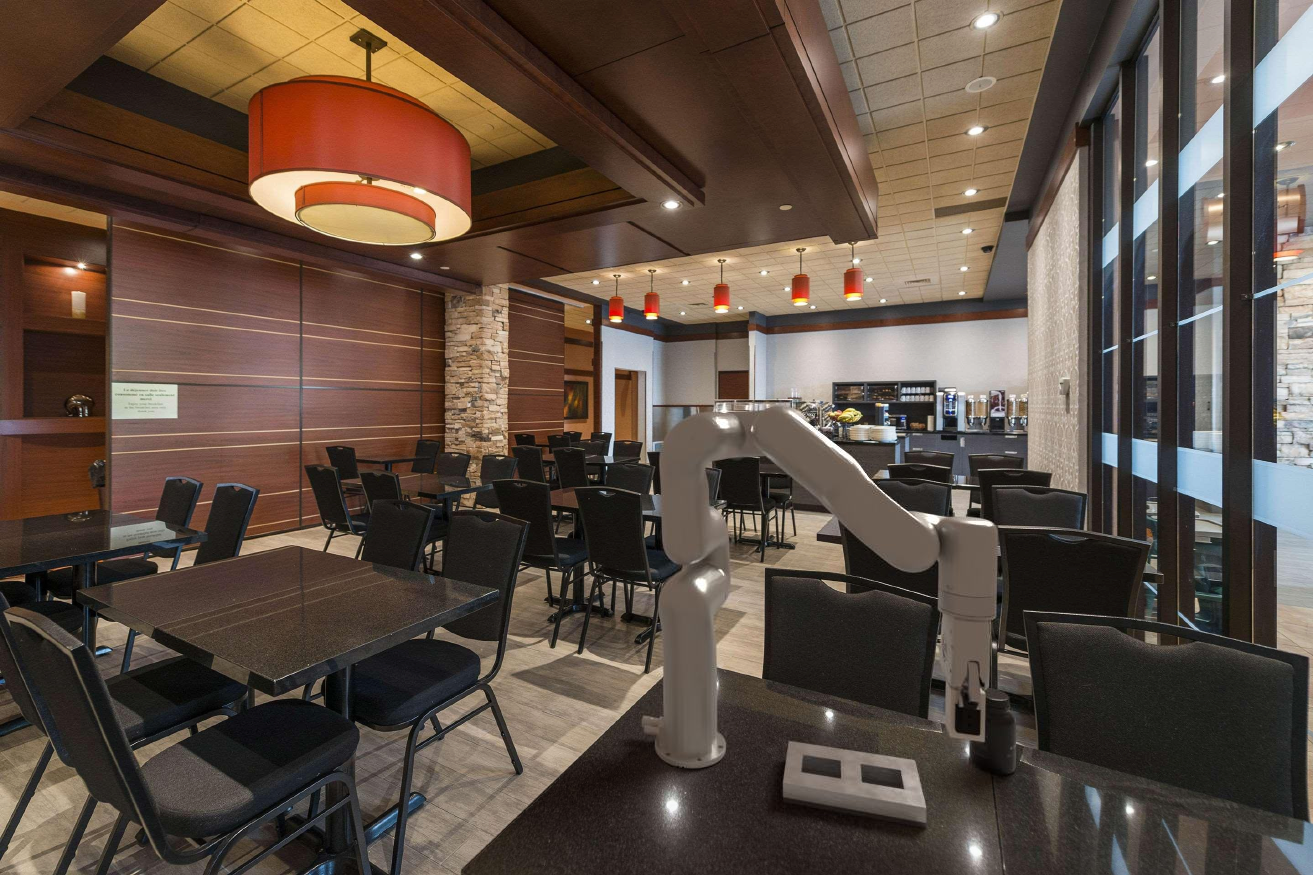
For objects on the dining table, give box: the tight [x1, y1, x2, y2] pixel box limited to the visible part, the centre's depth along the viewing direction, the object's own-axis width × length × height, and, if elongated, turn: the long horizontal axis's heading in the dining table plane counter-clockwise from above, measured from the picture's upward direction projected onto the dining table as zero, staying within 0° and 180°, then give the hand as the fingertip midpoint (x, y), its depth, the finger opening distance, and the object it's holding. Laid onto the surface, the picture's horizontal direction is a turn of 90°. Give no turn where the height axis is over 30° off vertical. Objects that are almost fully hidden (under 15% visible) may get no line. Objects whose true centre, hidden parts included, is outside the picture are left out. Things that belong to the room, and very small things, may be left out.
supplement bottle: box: [968, 687, 1017, 776], centre depth 97 cm, size 7×7×12 cm
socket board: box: [782, 740, 927, 829], centre depth 91 cm, size 20×12×3 cm, turn 73°
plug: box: [944, 678, 986, 742], centre depth 85 cm, size 4×4×7 cm
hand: (964, 724), depth 85 cm, fingers closed on plug, 3 cm apart
